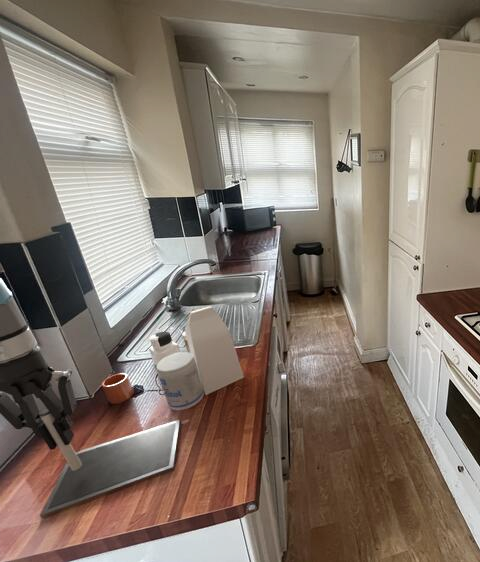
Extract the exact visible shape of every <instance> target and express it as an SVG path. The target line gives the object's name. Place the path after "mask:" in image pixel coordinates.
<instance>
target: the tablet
mask: <svg viewBox="0 0 480 562" xmlns="http://www.w3.org/2000/svg"><path fill="white" fill-rule="evenodd" d="M181 426H182V420H181V419H176V420H173V421H171V422H167V423H164V424H161V425H157V426H155V427H151V428H147V429H145V430H142V431H139V432H135V433H132V434H130V435H126V436H123V437H119V438H117V439H113V440H110V441H107V442H104V443H101V444H96V445H93V446H91V447H87V448H84V449H82V450H77V451H75V453H76V454H77V456H78V458H79V460H80V461H81V463H82V466H81V467H80V468H79V469H77V470H75V471H73V470H72V469H71V468H70V466H69V464H68V463H67V462H65V464H64V467H63V469H62V470H61V473H60V475H59V477H58V478H57V481H56V483H55V484H54V487H53V489H52V491H51V493H50V494H49V496H48V499H47V500H46V502H45V505H44V506H43V508H42V510H41V512H40V514H39V517H40V518H41V520H42V519H45V518H49V517H51V516H53V515H56V514H59V513H63V512H65V511H67V510H70V509H72V508H76V507H78V506H80V505H83V504H86V503H89V502H91V501H94V500H97V499H99V498H103V497H105V496H108V495H111V494H113V493H116V492H119V491H122V490H125V489H128V488H129V487H133V486H135V485H138V484H140V483H144V482H146V481H149V480H151V479H153V478H157V477H160V476H162V475H164V474H168V473H170V472H172V471H175V469H176V462H177V455H178V447H179V441H180V435H181V428H182V427H181Z"/></svg>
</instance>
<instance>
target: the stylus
mask: <svg viewBox="0 0 480 562" xmlns="http://www.w3.org/2000/svg"><path fill="white" fill-rule="evenodd" d="M39 416H40V417H41V420H42V421H43V422H44V424H45V426H46V427H47V429H48V431H49V432H50V434H51V436H52V437H53V439H54V441H55V443H56V444H57V446H56V447H58V449H59V451H60V453H61V454H62V456H63V458H64V460H65V461H66V463H68V464H69V466H70V468H71V469H72V470H73V471H75V470H77V469H79V468H80V467H81V466H82V463H81V461H80V460H79V458H78V456H77V454H76V453H75V452H76V451H75V449H74V448H73V445H72V444H71V443H70V444H69V445H64V443H63V441H62V439H61V438H60V436H59V434H58V433H57V431H56V429H55V428H54V426H53V424H52V423H53V421H54V420H55V418H54V417H53V416H52V414H51V413H50V412H49V410H48V409H47V408H44V409H42V410H40V411H39Z"/></svg>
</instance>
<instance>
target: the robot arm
mask: <svg viewBox="0 0 480 562" xmlns="http://www.w3.org/2000/svg"><path fill="white" fill-rule="evenodd" d="M72 375H73V370H72V369H66V370H64V371H59V370H55V369H54V368H53V367H51V366H50V365H49V364H48V360H47V359H46V357H45V354H44V353H43V351H42V349H41V347H40V346H39V345H38V341H37V339H36V337H35V335H34V334H33V332H32V330H31V328H30V326H29V325H28V323H27V321H26V320H25V318H24V316H23V314H22V311H21V310H20V307H19V306H18V304H17V302H16V300H15V298H14V295H13V292H12V291H11V290H10V289H9V288H8V287H7V285H6V283H5V282H4V280H3V279H2V278H1V277H0V415H1V416H2V417H3V418H4V419H5V420H6V421H7V423H9V424H10V425H11V426H12V427H13V428H14V429H16V430H21V429H23V428H28V429H31V430H32V432H33V433H34V435H35V437H36V438H38V439H41V438H42V439H43V440H44V442H45V444H46V445H47V448H48V449H49V450H50V451H52V450H55V449H56V448H57V447H58V446H57V444H56V443H55V441H54V439H53V437H52V436H51V434H50V432H49V431H48V429H47V427H46V426H45V424H44V422H43V421H42V419H41V417H40V416H39V412H40V410H39V407H38V405H37V402H36V399H39V400H40V401H41V403H42V404H43V405H44V406H45V409H48V410H49V412H50V413H51V414H52V416H53V417H54V418H55V420H54V421H53V423H52V424H53V426H54V428H55V429H56V431H57V433H58V434H59V436H60V438H61V439H62V441H63V443H64V445H69V444H71V442H72V440H73V438H74V437H75V433H74V431H73V430H72V426H73V425H74V422H73V421H72V418H71V415H72V414H73V413H74V411H75V410H76V408H77V406H78V404H77V400H76V395H75V394H74V393H75V391H74V388H73V385H72V380H71V377H72ZM52 379H54V382H55V384H57V390H58V394H59V396H60V397H59V396H58V394H57V393H56V391H55V390H54V389H53V385H52V383H51V380H52ZM9 395H10V396H11V397H12V398H11V397H10V396H9ZM34 397H35V398H36V399H35V398H34Z"/></svg>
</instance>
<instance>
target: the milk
mask: <svg viewBox="0 0 480 562" xmlns="http://www.w3.org/2000/svg"><path fill="white" fill-rule="evenodd" d="M184 332H185V333H186V337H187V341H188V345H189V349H190V353H191V354H192V355H193V357H194V359H195V362H196V366H197V369H198V373H199V376H200V380H201V384H202V387H203V391H204V395H205V396H208V395H209V394H211V393H214V392H216V391H219V390H220V389H223V388H224V387H227V386H229V385H231V384H233V383H235V382H237V381H239V380H242V379H244V378H245V376H244V373H243V370H242V365H241V363H240V359H239V357H238V353H237V350H236V347H235V344H234V341H233V338H232V334H231V332H230V330H229V328H228V326H227V324H226V323H225V322H224V320H223V318H222V317H221V316H220V314H219V313H218V312H217V311H216V310H215V308H214V307H213V306H212V305H209V306H205V307H201V308H199V309H196V310H192V311H190V312H189V316H188V320H187V323H186V325H185V328H184Z"/></svg>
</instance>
